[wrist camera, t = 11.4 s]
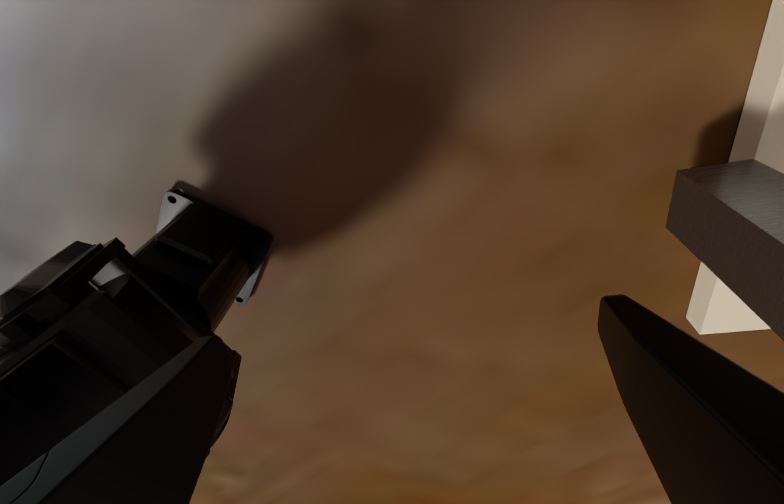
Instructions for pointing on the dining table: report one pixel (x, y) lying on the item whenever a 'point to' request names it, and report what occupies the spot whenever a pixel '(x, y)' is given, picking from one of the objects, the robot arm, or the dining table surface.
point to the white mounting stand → (752, 141)
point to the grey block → (736, 230)
